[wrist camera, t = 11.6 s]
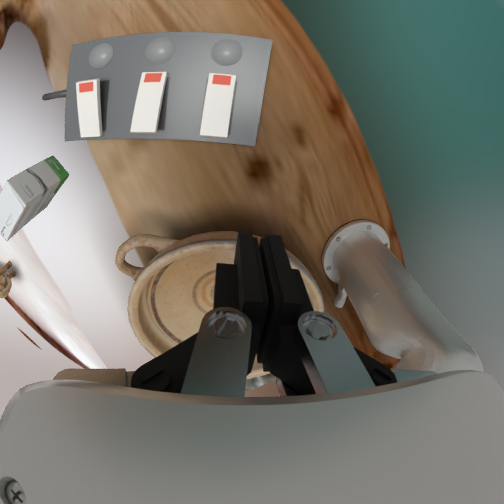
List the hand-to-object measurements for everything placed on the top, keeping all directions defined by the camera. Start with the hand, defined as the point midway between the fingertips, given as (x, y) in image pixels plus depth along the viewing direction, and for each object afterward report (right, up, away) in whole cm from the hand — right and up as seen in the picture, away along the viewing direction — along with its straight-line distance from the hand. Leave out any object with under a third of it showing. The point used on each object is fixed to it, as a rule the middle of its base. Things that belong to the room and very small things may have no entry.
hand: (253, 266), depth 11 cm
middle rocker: (-12, +18, +15) cm, 26 cm away
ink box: (-32, +12, +22) cm, 41 cm away
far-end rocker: (-4, +17, +16) cm, 24 cm away
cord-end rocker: (-20, +18, +14) cm, 30 cm away
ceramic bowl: (-4, -5, +35) cm, 36 cm away
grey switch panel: (-15, +22, +17) cm, 32 cm away
